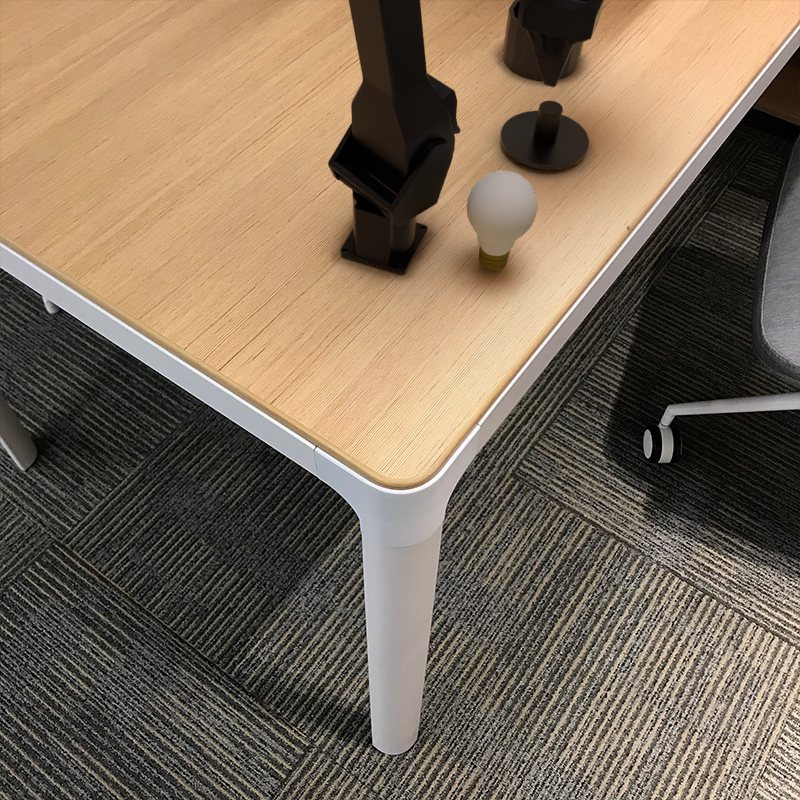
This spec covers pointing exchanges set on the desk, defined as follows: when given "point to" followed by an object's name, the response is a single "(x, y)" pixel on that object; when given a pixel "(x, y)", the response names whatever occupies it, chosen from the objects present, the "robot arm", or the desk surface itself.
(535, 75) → the bin
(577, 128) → the bin lid
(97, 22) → the desk surface
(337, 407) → the desk surface
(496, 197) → the light bulb
